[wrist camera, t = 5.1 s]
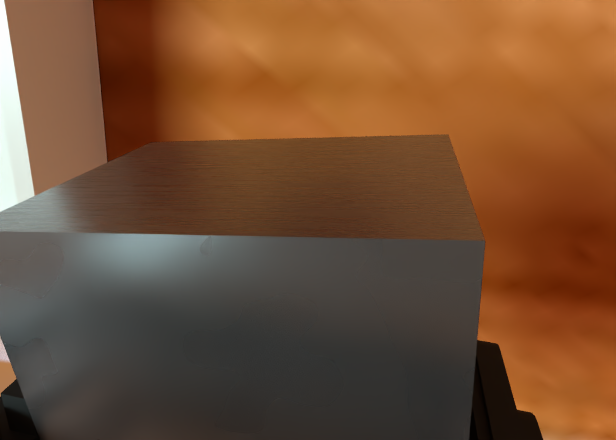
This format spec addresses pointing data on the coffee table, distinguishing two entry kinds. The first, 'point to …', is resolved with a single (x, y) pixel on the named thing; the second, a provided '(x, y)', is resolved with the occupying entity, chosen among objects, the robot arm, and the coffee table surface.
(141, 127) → the coffee table surface
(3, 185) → the tote
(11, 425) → the robot arm
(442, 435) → the block
